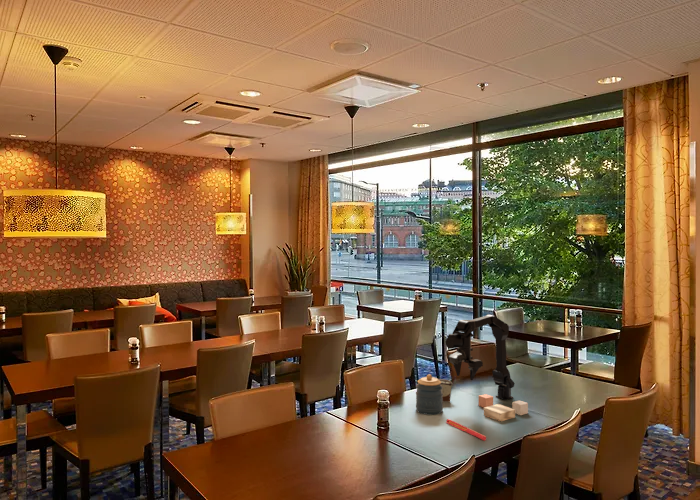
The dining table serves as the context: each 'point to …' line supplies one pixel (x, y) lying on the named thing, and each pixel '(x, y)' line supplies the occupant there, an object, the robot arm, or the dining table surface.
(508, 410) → the birch base block
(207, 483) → the dining table surface
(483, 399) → the terracotta cube
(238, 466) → the dining table surface
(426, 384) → the canister
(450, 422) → the chopstick
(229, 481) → the dining table surface
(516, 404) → the beige cube
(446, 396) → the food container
